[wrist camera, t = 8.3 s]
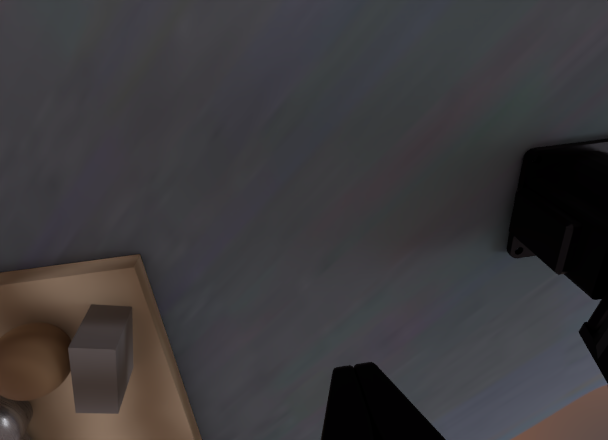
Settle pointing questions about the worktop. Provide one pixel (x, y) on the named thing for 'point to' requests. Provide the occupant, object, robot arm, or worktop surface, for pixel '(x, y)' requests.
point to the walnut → (33, 361)
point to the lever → (14, 419)
